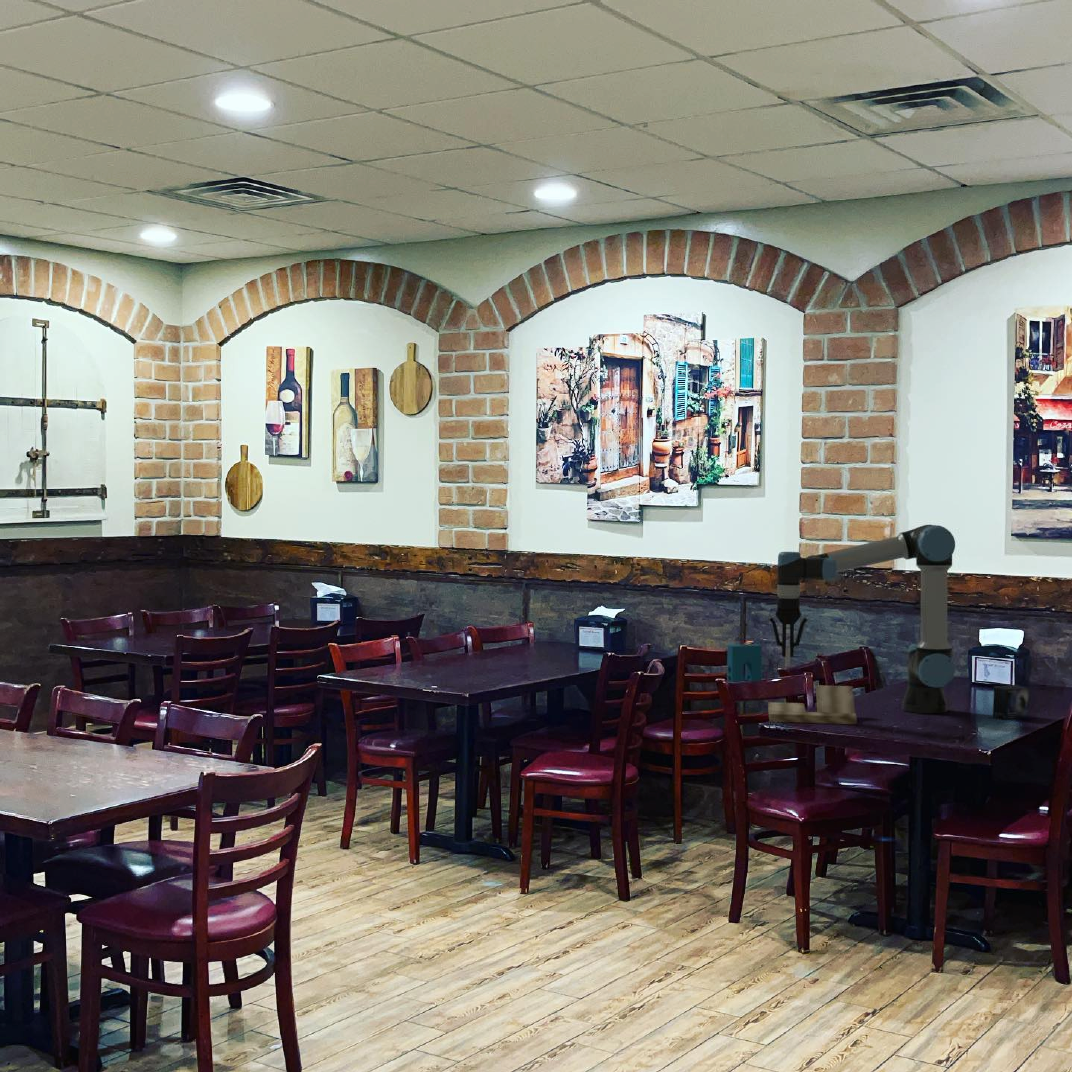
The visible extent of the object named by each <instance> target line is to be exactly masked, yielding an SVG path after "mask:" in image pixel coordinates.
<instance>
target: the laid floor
mask: <svg viewBox="0 0 1072 1072" xmlns="http://www.w3.org/2000/svg"><path fill="white" fill-rule="evenodd" d="M768 719H769V720H768V721H769V722H774V723H775V722H777V723H802V724H803V723H804V724H805V723H806V724H807V723H808V724H810V723H811V724H838V725H839V724H842V725H857V721H858V720H857V719H858V718H857V714H856V713H855V714H853V713H821V712H817V711H806V712H789V711H769V713H768Z"/></svg>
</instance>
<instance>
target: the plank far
mask: <svg viewBox="0 0 1072 1072" xmlns="http://www.w3.org/2000/svg"><path fill="white" fill-rule="evenodd" d="M767 706H768V707H767V712H768V714H769V711H789V712H807V711H806V706H805V703H802V702H801V703H800V702H770V701H769V702H767Z"/></svg>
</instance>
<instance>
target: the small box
mask: <svg viewBox="0 0 1072 1072" xmlns="http://www.w3.org/2000/svg"><path fill="white" fill-rule="evenodd" d="M1029 696H1030V688H1029V687H1026V686H1022V685H1018V684H1012V685H1011V684H1010V685H997V686H996V685H995V686H994V687H993V705H992V717H993V718H997V719H1002V720H1014V719H1015V720H1016V719H1017V720H1018V719H1028V718H1029V702H1030V701H1029V700H1030V698H1029Z"/></svg>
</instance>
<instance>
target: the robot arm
mask: <svg viewBox="0 0 1072 1072" xmlns="http://www.w3.org/2000/svg"><path fill="white" fill-rule="evenodd" d="M955 550H956V540H955V537H954V535H953V533H952V532H951V531H950V530H949V529H947V528H946V527H944V526H942V525H936V524H924V525H921V526H917V527H915V528H912V529H910V530H906V531H902V532H899V534H898V535H897V536H894V537H890V538H889V537H888V538H884V539H881V540H876V541H872V542H868V543H864V544H859V545H855V546H849V547H845V548H842V549H837V550H834V551H833V550H832V551H828V552H826V553H825V552H824V553H821V554H812V555H808V556H807V557H801V553H800V552H799V551H781V552H779V553H778V556H777V565H776V566H777V588H776V590H777V591H776V594H777V596H778V597H777V598H776V599H777V600H776V602H777V603H776V604H777V605H776V612H775V614H774V615H773V616H770V617H769V621H770V623H771V625H772V628H773V632H774V637H775V642H776V645H777V646H779V647H781V655H782V657H784V659H785V660H784V661H785V662H784V663H785V664H784V666H785V668H790V667H791V658H793V657H794V649H795V647H798V646H800V642H801V639H802V634H803V632H804V626H806V624H807V622H808V618H807V617H804V616H803V615H802V612H801V611H800V609H801V607H800V605H801V604H800V603H801V602H800V600H801V599H800V598H799V597H800V595H801V581H805V580H806V581H825V582H827V581H834V580H835V579H836V577H837V573H841V572H844V571H849V570H853V569H859V568H863V567H867V566H872V565H876V564H880V563H881V564H882V563H884V562H885V563H886V562H889V561H895V560H899V559H905V560H906V561H907V560H912V559H915V563H916V564H915V565H916V567H917V568H918V569H919V570H920V641H919V642H918V643H917V644H915V643H914V644H910V645H909V647H908V650H907V657H908V658H907V689H906V691H905V693H904V697H903V700H902V703H901V706H902V707H901V710H903V711H905V712H909V713H916V714H917V713H918V714H928V715H929V714H932V715H933V714H943V713H947V712H948V703H947V700H946V697H945V692H944V690H943V687H945V686H947V685H948V684H950V682H951V681H952V680H953V679H954V677H955V672H956V668H955V664H954V661H953V649H952V648H953V647H952V645H951V644H950V642H948V570H949V569H951V568H952V566H953V555H954V552H955ZM777 620H779V622H780V623H781V626H782V627H781V628H782V631H781V633H782V634H781V640H780V634H779V630H778V627H777V626H778V625H777V623H776V622H777ZM798 621H799V623H800V624H799V628H798V631H797V635H796V639H794V636H795V624H796V623H797V622H798ZM787 625H789V646H787ZM794 641H795V642H794Z"/></svg>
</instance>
